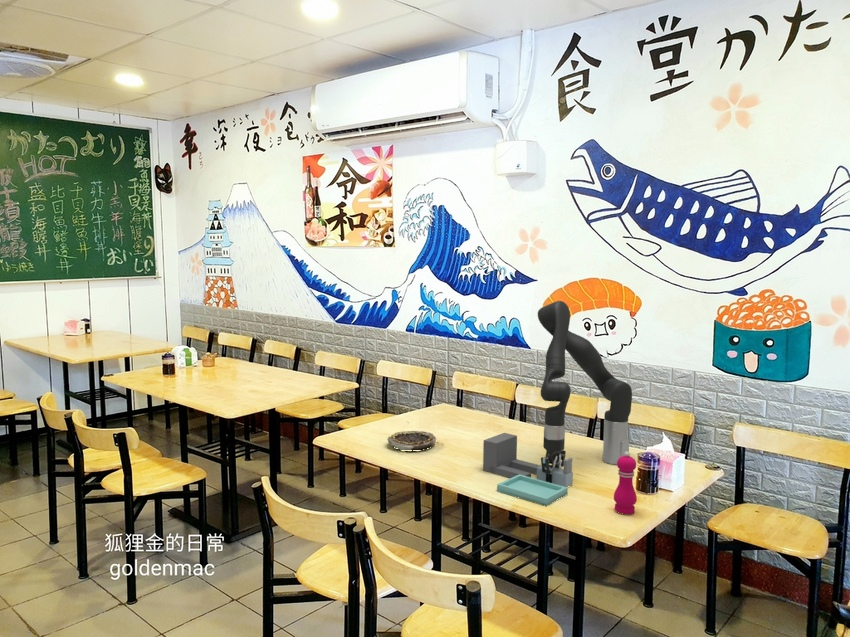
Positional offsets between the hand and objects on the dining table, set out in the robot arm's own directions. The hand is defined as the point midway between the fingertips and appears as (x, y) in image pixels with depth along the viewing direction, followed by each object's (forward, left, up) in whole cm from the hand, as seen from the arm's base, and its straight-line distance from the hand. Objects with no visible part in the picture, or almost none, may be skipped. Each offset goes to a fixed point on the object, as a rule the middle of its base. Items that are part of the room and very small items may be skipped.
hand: (552, 481), depth 241 cm
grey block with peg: (-1, 0, -1) cm, 1 cm away
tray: (0, +14, 0) cm, 14 cm away
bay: (+17, 0, 0) cm, 17 cm away
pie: (+68, +2, -1) cm, 68 cm away
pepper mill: (-31, +7, -1) cm, 32 cm away
